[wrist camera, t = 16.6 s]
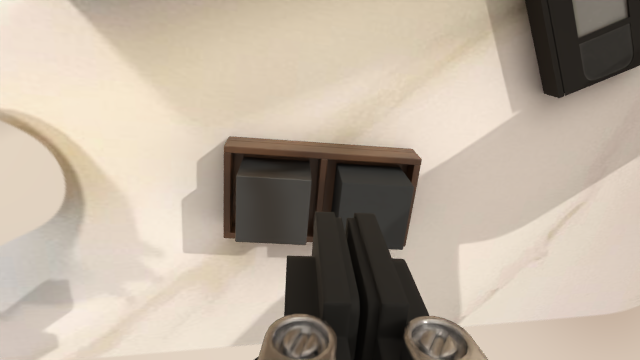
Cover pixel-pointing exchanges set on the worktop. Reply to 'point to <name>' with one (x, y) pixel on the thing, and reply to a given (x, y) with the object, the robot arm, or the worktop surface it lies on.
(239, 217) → the partitioned wooden crate
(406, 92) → the worktop surface
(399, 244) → the block
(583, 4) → the vhs tape
